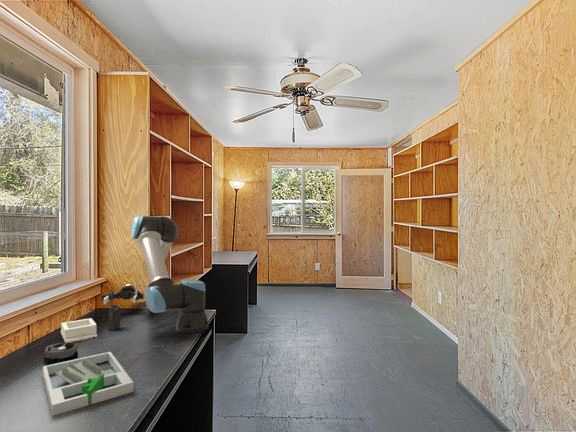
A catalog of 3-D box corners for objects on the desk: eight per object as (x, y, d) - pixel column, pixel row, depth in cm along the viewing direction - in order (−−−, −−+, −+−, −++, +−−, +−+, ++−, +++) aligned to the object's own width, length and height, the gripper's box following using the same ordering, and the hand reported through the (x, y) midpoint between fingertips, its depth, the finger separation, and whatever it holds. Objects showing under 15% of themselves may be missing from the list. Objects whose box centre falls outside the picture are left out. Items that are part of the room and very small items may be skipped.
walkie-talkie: (113, 330, 163) (114, 288, 162) (107, 330, 163) (108, 288, 163) (120, 327, 167) (121, 286, 167) (114, 327, 168) (115, 285, 168)
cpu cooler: (80, 346, 129) (48, 354, 122) (80, 361, 130) (48, 370, 122) (72, 339, 136) (41, 346, 129) (72, 353, 136) (41, 361, 129)
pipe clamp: (92, 387, 110) (92, 374, 110) (103, 386, 111) (103, 373, 111) (77, 405, 100) (77, 390, 100) (90, 404, 100) (91, 389, 100)
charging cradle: (97, 337, 154) (97, 325, 154) (65, 343, 147) (65, 331, 147) (90, 327, 167) (90, 317, 167) (60, 332, 159) (60, 321, 159)
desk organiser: (133, 391, 108) (133, 382, 108) (52, 415, 95) (52, 405, 95) (110, 359, 131) (110, 351, 131) (42, 375, 118) (42, 366, 118)
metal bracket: (48, 369, 111) (89, 351, 125) (44, 385, 111) (86, 366, 125) (79, 390, 106) (119, 369, 120) (75, 407, 106) (115, 384, 121)
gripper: (151, 297, 198) (145, 307, 177) (104, 299, 192) (91, 309, 171) (152, 284, 198) (145, 292, 177) (104, 285, 192) (92, 294, 171)
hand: (119, 301), depth 174 cm, fingers open, 13 cm apart
